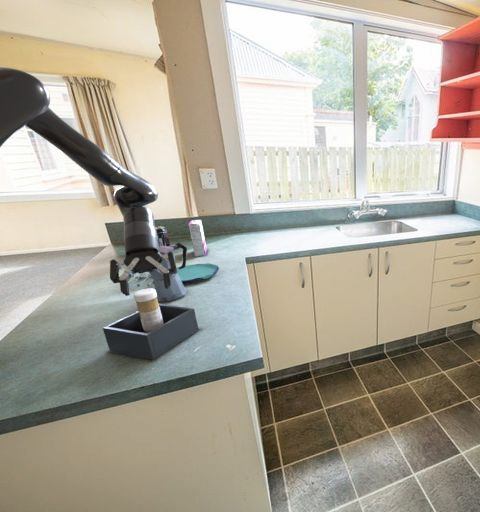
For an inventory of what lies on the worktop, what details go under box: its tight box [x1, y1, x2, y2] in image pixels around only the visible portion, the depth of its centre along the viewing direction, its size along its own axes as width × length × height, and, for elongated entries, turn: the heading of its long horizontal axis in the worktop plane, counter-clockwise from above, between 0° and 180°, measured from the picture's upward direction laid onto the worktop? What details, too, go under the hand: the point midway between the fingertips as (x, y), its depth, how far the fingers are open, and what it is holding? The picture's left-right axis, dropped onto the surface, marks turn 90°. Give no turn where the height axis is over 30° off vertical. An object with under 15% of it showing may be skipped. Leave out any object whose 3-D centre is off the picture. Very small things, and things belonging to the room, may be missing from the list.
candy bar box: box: [187, 219, 208, 257], centre depth 149 cm, size 11×5×16 cm, turn 26°
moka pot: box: [148, 242, 188, 302], centre depth 102 cm, size 10×15×20 cm, turn 155°
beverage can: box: [155, 226, 171, 247], centre depth 155 cm, size 7×7×12 cm
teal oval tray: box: [129, 262, 220, 288], centre depth 120 cm, size 20×30×2 cm, turn 109°
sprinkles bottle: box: [132, 288, 164, 333], centre depth 77 cm, size 5×5×14 cm
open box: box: [102, 303, 199, 360], centre depth 78 cm, size 14×14×7 cm
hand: (147, 291), depth 79 cm, fingers open, 8 cm apart
